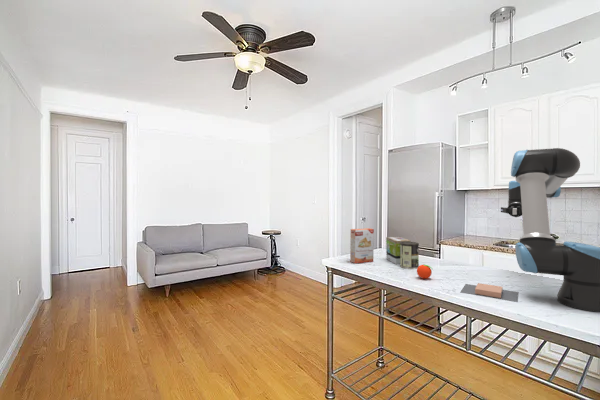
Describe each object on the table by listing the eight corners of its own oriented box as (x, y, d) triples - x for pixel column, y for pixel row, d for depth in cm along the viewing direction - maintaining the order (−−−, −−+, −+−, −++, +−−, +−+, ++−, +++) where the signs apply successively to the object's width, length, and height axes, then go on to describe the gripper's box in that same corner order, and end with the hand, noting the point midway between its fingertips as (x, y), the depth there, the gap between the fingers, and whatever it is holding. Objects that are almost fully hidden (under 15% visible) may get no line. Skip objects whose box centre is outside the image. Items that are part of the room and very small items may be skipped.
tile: (502, 286, 128) (500, 292, 120) (502, 292, 128) (500, 298, 120) (478, 283, 133) (475, 288, 125) (478, 288, 133) (475, 294, 125)
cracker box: (355, 264, 184) (355, 229, 183) (349, 262, 189) (349, 228, 189) (374, 261, 189) (374, 228, 189) (368, 260, 195) (368, 227, 194)
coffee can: (417, 265, 179) (417, 241, 179) (420, 269, 169) (420, 244, 169) (399, 264, 181) (399, 241, 181) (401, 268, 171) (401, 244, 171)
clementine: (435, 278, 151) (435, 264, 151) (431, 281, 146) (431, 267, 146) (419, 275, 156) (419, 262, 156) (414, 278, 151) (414, 264, 151)
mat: (518, 293, 128) (518, 292, 128) (517, 303, 116) (517, 302, 116) (465, 284, 140) (465, 283, 140) (459, 293, 128) (459, 292, 128)
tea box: (385, 259, 196) (385, 236, 196) (400, 258, 197) (400, 236, 197) (395, 264, 181) (395, 240, 181) (411, 264, 182) (411, 239, 182)
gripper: (531, 217, 155) (532, 220, 136) (501, 216, 163) (497, 219, 144) (531, 202, 155) (532, 203, 136) (501, 202, 163) (497, 203, 144)
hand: (514, 211), depth 140 cm, fingers closed
